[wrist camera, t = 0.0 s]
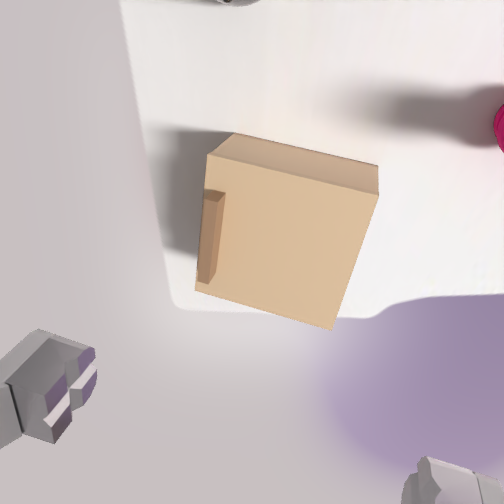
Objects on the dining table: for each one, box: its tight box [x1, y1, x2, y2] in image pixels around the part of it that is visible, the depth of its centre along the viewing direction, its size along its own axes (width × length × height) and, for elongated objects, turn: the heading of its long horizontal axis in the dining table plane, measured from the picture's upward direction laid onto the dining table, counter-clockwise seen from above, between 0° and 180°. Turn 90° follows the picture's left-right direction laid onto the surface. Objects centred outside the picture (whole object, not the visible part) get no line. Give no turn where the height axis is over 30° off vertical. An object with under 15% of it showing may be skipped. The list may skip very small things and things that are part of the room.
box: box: [212, 133, 378, 192], centre depth 56 cm, size 20×20×10 cm
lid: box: [195, 152, 379, 330], centre depth 50 cm, size 20×20×4 cm
